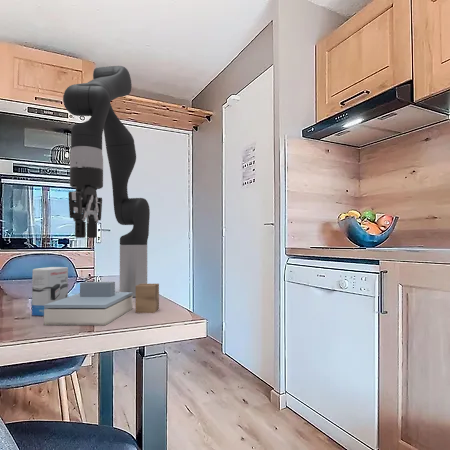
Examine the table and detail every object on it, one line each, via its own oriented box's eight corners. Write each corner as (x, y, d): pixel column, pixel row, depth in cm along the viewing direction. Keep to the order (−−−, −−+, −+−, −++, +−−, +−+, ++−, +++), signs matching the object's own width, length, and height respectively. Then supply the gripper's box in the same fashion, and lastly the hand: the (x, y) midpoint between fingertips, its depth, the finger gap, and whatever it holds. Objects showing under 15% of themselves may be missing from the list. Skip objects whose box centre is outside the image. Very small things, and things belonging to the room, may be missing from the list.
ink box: (47, 316, 93) (48, 269, 94) (30, 315, 94) (31, 269, 95) (68, 310, 101) (69, 266, 102) (52, 309, 102) (53, 266, 103)
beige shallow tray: (82, 308, 103) (82, 295, 104) (132, 308, 103) (132, 295, 103) (43, 324, 84) (44, 309, 84) (105, 325, 83) (105, 309, 83)
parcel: (140, 309, 102) (140, 283, 102) (158, 309, 102) (158, 283, 102) (135, 312, 97) (135, 285, 97) (154, 312, 97) (154, 285, 97)
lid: (82, 294, 104) (83, 279, 104) (132, 294, 103) (132, 279, 103) (44, 307, 84) (44, 289, 84) (105, 308, 83) (105, 289, 83)
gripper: (84, 173, 97) (83, 238, 97) (56, 162, 83) (55, 237, 82) (112, 173, 97) (112, 237, 96) (89, 161, 83) (89, 237, 82)
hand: (86, 237), depth 89 cm, fingers open, 6 cm apart
